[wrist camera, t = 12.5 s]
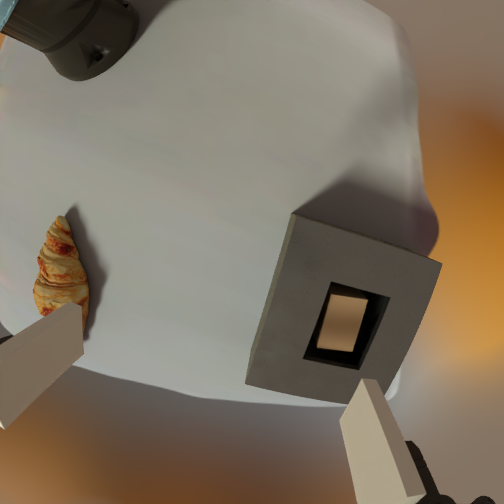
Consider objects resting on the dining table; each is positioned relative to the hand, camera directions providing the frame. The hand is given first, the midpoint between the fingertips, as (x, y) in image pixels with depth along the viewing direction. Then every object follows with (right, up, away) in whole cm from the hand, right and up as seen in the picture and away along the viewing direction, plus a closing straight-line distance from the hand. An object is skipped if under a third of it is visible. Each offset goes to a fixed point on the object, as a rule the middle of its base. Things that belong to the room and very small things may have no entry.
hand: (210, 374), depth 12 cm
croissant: (-26, 0, +26) cm, 37 cm away
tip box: (+12, -1, +23) cm, 26 cm away
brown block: (+11, -1, +22) cm, 25 cm away
